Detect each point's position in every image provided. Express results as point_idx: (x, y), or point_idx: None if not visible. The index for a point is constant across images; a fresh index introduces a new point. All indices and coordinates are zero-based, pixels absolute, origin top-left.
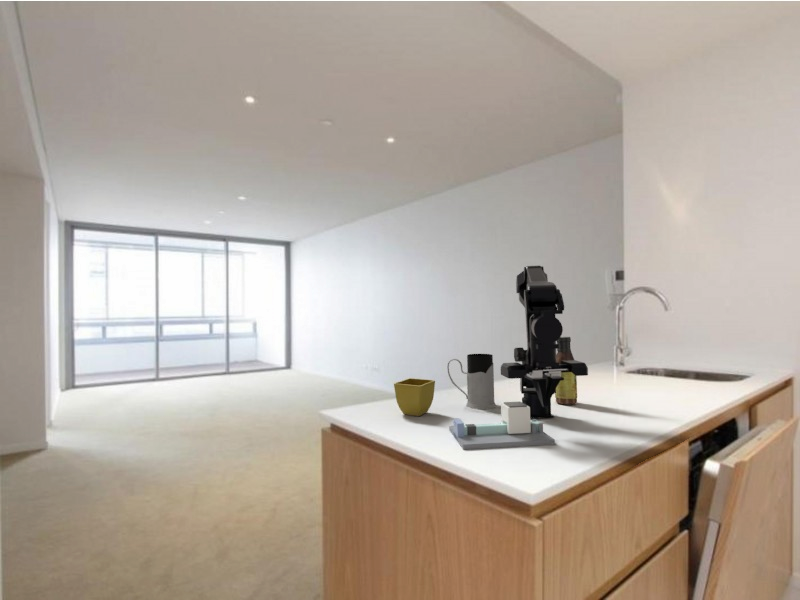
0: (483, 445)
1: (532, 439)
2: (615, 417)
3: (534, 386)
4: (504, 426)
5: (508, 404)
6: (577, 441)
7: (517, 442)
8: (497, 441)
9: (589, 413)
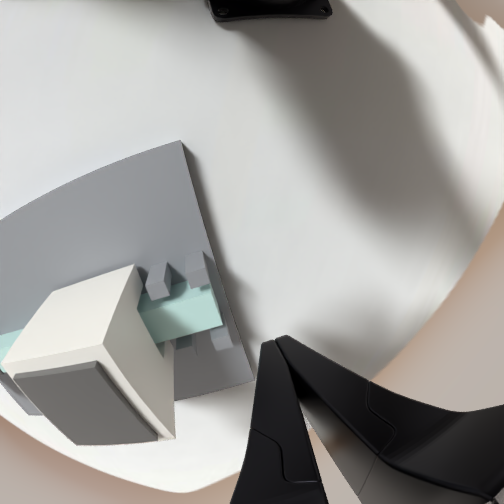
0: None
1: (180, 391)
2: (474, 75)
3: (239, 482)
4: None
5: (56, 422)
6: (328, 328)
7: None
8: None
9: (432, 15)
